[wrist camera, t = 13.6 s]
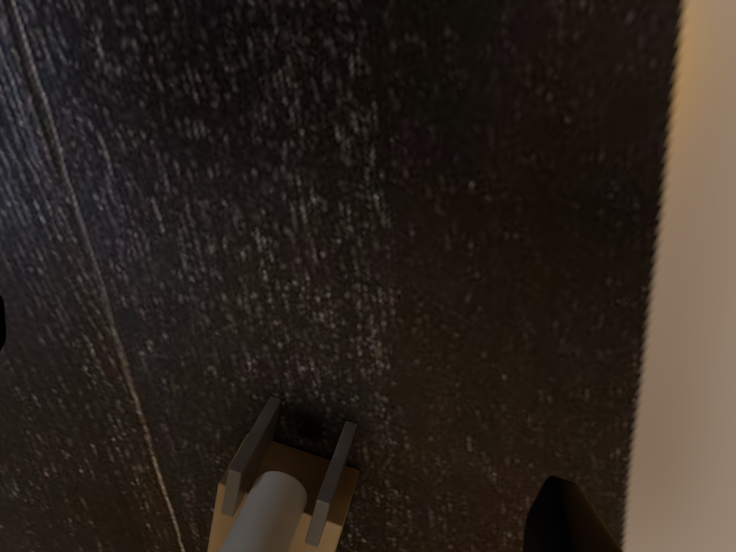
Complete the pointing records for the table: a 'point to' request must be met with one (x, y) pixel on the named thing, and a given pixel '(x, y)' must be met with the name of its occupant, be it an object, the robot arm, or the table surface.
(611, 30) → the table surface
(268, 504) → the marker
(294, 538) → the tan block with prongs
